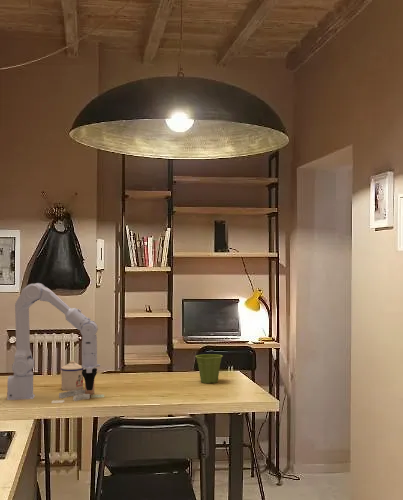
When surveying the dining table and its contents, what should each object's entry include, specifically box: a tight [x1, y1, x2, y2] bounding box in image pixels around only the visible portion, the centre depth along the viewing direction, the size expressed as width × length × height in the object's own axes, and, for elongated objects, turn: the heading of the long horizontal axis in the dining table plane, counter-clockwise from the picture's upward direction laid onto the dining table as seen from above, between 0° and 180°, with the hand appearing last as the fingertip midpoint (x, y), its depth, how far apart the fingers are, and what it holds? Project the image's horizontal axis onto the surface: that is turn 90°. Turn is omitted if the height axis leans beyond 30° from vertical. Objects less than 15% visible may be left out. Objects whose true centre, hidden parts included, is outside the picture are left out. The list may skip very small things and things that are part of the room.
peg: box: [84, 383, 95, 396], centre depth 246 cm, size 4×4×7 cm
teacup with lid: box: [60, 360, 84, 392], centre depth 265 cm, size 12×9×12 cm
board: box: [51, 394, 105, 404], centre depth 243 cm, size 20×15×1 cm
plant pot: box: [195, 353, 224, 384], centre depth 277 cm, size 12×12×11 cm
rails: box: [58, 389, 91, 402], centre depth 244 cm, size 12×12×2 cm
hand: (89, 388), depth 246 cm, fingers closed on peg, 4 cm apart
